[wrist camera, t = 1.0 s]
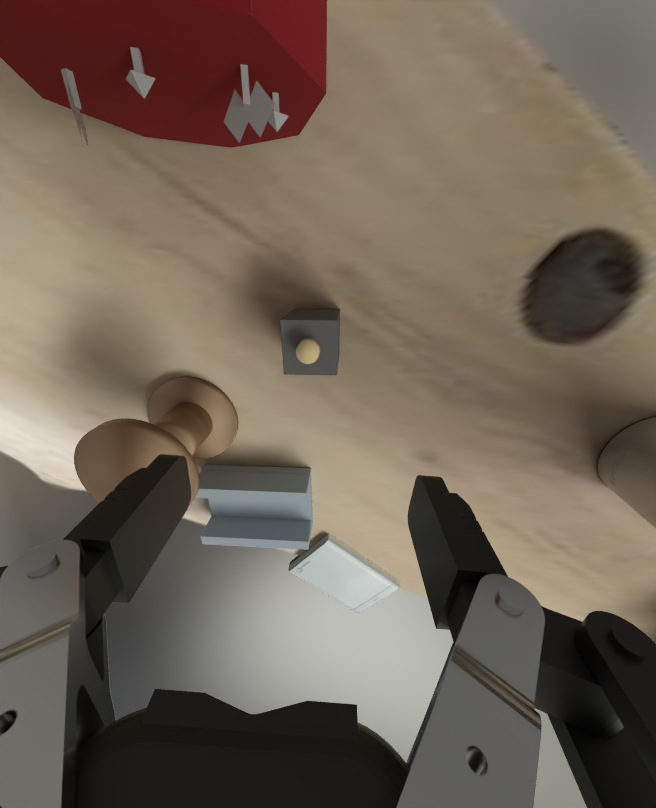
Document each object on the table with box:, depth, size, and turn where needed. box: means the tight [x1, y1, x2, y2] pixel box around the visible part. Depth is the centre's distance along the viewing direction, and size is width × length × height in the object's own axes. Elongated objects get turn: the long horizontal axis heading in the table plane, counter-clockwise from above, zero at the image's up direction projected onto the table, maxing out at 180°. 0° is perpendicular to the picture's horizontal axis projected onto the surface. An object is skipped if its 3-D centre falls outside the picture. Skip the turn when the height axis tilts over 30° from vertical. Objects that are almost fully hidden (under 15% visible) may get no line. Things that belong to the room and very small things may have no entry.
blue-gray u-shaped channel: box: [195, 465, 313, 550], centre depth 34 cm, size 12×8×4 cm, turn 90°
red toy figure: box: [0, 0, 327, 147], centre depth 12 cm, size 15×9×20 cm, turn 89°
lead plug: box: [280, 309, 340, 375], centre depth 24 cm, size 4×4×7 cm
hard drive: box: [289, 534, 399, 613], centre depth 40 cm, size 2×8×12 cm
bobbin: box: [74, 377, 238, 507], centre depth 27 cm, size 9×9×10 cm
